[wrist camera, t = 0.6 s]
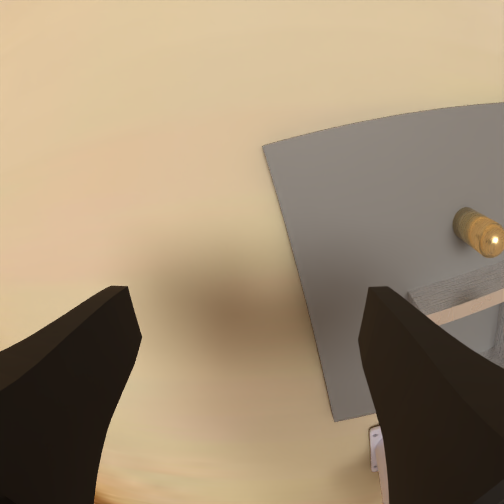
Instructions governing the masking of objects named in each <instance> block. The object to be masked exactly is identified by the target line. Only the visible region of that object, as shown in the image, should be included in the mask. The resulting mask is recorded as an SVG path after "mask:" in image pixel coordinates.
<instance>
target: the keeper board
mask: <svg viewBox="0 0 504 504" xmlns="http://www.w3.org/2000/svg"><path fill="white" fill-rule="evenodd" d="M262 147H263V150H264V153H265V157H266V160H267V163H268V166H269V170H270V173H271V177H272V180H273V183H274V187H275V190H276V194H277V197H278V200H279V204H280V207H281V211H282V214H283V218H284V222H285V225H286V229H287V232H288V236H289V239H290V243H291V247H292V250H293V254H294V258H295V262H296V265H297V269H298V273H299V277H300V280H301V284H302V288H303V292H304V296H305V300H306V304H307V307H308V311H309V315H310V319H311V323H312V327H313V332H314V336H315V340H316V344H317V348H318V352H319V356H320V361H321V365H322V369H323V373H324V378H325V382H326V387H327V391H328V396H329V400H330V405H331V409H332V414H333V418H334V422H338V421H343V420H347V419H352V418H357V417H361V416H365V415H370V414H374V413H376V411H375V407H374V404H373V400H372V397H371V394H370V391H369V387H368V384H367V381H366V377H365V374H364V371H363V367H362V361H361V356H360V350H359V344H358V337H359V332H360V328H361V323H362V318H363V313H364V308H365V303H366V298H367V292H368V287H378V286H388V287H390V288H391V289H393V290H394V291H395V292H397V293H398V294H399V295H401V296H402V297H403V298H404V299H406V300H407V301H408V290H412V289H415V288H419V287H422V286H426V285H429V284H432V283H436V282H439V281H442V280H445V279H449V278H452V277H455V276H458V275H461V274H464V273H467V272H471V271H474V270H477V269H480V268H482V267H485V266H488V265H491V264H494V263H497V262H500V261H503V260H504V250H503V252H502V253H501V254H500V255H499V256H497V257H494V258H485V257H484V256H482V255H481V254H480V253H478V252H477V251H476V250H475V249H473V248H472V247H471V246H469V245H468V244H467V243H466V242H464V241H463V240H462V239H460V238H459V237H458V236H456V235H455V233H454V231H453V226H452V224H453V219H454V216H455V214H456V213H457V212H458V211H459V210H460V209H461V208H464V207H469V208H472V209H474V210H475V211H477V212H479V213H481V214H483V215H485V216H486V217H488V218H490V219H492V220H494V221H495V222H497V223H499V224H500V225H501V226H502V227H503V229H504V103H489V104H477V105H467V106H458V107H449V108H441V109H433V110H426V111H419V112H413V113H407V114H400V115H395V116H389V117H383V118H378V119H373V120H367V121H362V122H357V123H353V124H348V125H343V126H339V127H334V128H330V129H325V130H321V131H317V132H313V133H309V134H305V135H301V136H297V137H293V138H289V139H285V140H281V141H278V142H274V143H270V144H267V145H263V146H262ZM499 309H500V303H499V304H497V305H494V306H492V307H489V308H487V309H484V310H481V311H479V312H476V313H473V314H471V315H468V316H465V317H462V318H459V319H457V320H454V321H451V322H448V323H445V324H442V325H439V326H440V327H441V328H442V329H444V330H445V331H446V332H448V333H449V334H450V335H452V336H453V337H455V338H456V339H457V340H459V341H460V342H461V343H463V344H464V345H466V346H467V347H469V348H470V349H472V350H473V351H475V352H477V353H480V352H482V351H485V350H487V349H489V348H492V347H493V345H494V340H495V335H496V329H497V323H498V316H499Z"/></svg>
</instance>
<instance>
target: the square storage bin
mask: <svg viewBox="0 0 504 504" xmlns="http://www.w3.org/2000/svg"><path fill="white" fill-rule="evenodd" d="M408 302H409V303H411V304H412V305H413V306H414V307H416V308H417V309H418V310H419V311H421V312H422V313H423V314H424V315H426V316H427V317H428V318H429V319H431V320H432V321H433V322H434V323H436V324H437V325H438V326H439V325H442V324H445V323H448V322H451V321H454V320H457V319H459V318H462V317H465V316H468V315H471V314H473V313H476V312H479V311H481V310H484V309H487V308H489V307H492V306H494V305H497V304H499V303H500V309H499V316H498V323H497V329H496V335H495V340H494V345H493V347H492V348H489V349H487V350H485V351H482V352H480V353H478V354H480V355H481V356H483V357H485V358H486V359H488V360H489V361H491V362H493V363H495V364H496V365H498V366H500V367H502V368H504V260H503V261H500V262H497V263H494V264H491V265H488V266H485V267H482V268H480V269H477V270H474V271H471V272H467V273H464V274H461V275H458V276H455V277H452V278H449V279H445V280H442V281H439V282H436V283H432V284H429V285H426V286H422V287H419V288H415V289H412V290H408Z"/></svg>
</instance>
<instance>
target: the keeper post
mask: <svg viewBox="0 0 504 504" xmlns="http://www.w3.org/2000/svg"><path fill="white" fill-rule="evenodd" d="M452 226H453V231H454V233H455V235H456V236H458V237H459V238H460V239H462V240H463V241H464V242H466V243H467V244H468V245H469V246H471V247H472V248H473V249H475V250H476V251H477V252H478V253H480V254H481V255H482V256H484V257H485V258H494V257H497V256H499V255H500V254H501V253H502V252H503V250H504V229H503V227H502V226H501V225H500V224H499V223H497V222H495V221H494V220H492V219H490V218H488V217H486V216H485V215H483V214H481V213H479V212H477V211H475V210H474V209H472V208H469V207H464V208H461V209H460V210H459V211H458V212H457V213H456V214H455V216H454V219H453V224H452Z"/></svg>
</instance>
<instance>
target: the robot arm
mask: <svg viewBox="0 0 504 504" xmlns="http://www.w3.org/2000/svg"><path fill="white" fill-rule="evenodd" d="M141 339H142V335H141V332H140V329H139V326H138V322H137V319H136V315H135V312H134V308H133V304H132V301H131V297H130V293H129V289H128V286H110V287H108V288H105V289H104V290H102V291H100V292H98V293H97V294H95V295H94V296H92V297H90V298H89V299H87V300H86V301H84V302H83V303H81V304H80V305H78V306H77V307H75V308H74V309H72V310H70V311H69V312H67V313H66V314H64V315H63V316H61V317H60V318H58V319H57V320H55V321H54V322H52V323H50V324H49V325H47V326H46V327H44V328H42V329H41V330H39V331H38V332H36V333H34V334H33V335H31V336H29V337H28V338H26V339H24V340H22V341H20V342H18V343H16V344H15V345H13V346H11V347H9V348H7V349H5V350H3V351H0V504H94V496H95V488H96V480H97V474H98V468H99V463H100V458H101V453H102V449H103V445H104V441H105V437H106V433H107V430H108V427H109V424H110V421H111V418H112V416H113V413H114V411H115V409H116V406H117V404H118V401H119V399H120V397H121V394H122V392H123V390H124V388H125V385H126V383H127V381H128V378H129V376H130V374H131V371H132V369H133V366H134V364H135V361H136V357H137V354H138V350H139V347H140V343H141ZM358 344H359V350H360V356H361V361H362V367H363V371H364V374H365V377H366V381H367V384H368V387H369V391H370V394H371V397H372V400H373V404H374V407H375V411H376V414H377V417H378V421H379V424H380V426H377V427H373V428H371V429H370V431H369V432H370V450H371V471H372V472H376V471H378V472H379V479H380V485H381V492H382V499H383V504H504V368H502V367H500V366H498V365H496V364H495V363H493V362H491V361H489V360H488V359H486V358H485V357H483V356H481V355H480V354H478V353H477V352H475V351H473V350H472V349H470V348H469V347H467V346H466V345H464V344H463V343H461V342H460V341H459V340H457V339H456V338H455V337H453V336H452V335H450V334H449V333H448V332H446V331H445V330H444V329H442V328H441V327H440V326H438V325H437V324H436V323H434V322H433V321H432V320H431V319H429V318H428V317H427V316H426V315H424V314H423V313H422V312H421V311H419V310H418V309H417V308H416V307H414V306H413V305H412V304H411V303H409V302H408V301H407V300H406V299H404V298H403V297H402V296H401V295H399V294H398V293H397V292H395V291H394V290H393V289H391V288H390V287H388V286H378V287H368V292H367V298H366V303H365V308H364V313H363V318H362V323H361V328H360V332H359V337H358Z"/></svg>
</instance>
